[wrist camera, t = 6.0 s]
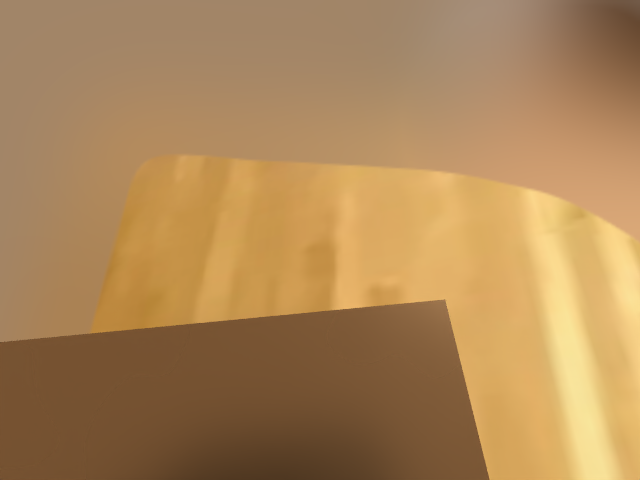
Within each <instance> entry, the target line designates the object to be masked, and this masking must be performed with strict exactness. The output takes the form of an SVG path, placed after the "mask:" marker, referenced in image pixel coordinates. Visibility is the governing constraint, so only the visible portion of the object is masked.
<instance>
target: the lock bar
mask: <svg viewBox="0 0 640 480" xmlns="http://www.w3.org/2000/svg"><path fill="white" fill-rule="evenodd" d="M0 480H489V476H488V472H487V468H486V464H485V460H484V456H483V452H482V448H481V443H480V439H479V435H478V431H477V427H476V423H475V419H474V415H473V411H472V407H471V403H470V399H469V395H468V391H467V387H466V383H465V379H464V375H463V371H462V367H461V363H460V358H459V354H458V350H457V346H456V342H455V338H454V334H453V330H452V326H451V322H450V318H449V314H448V310H447V306H446V302H445V300H437V301H426V302H416V303H405V304H395V305H385V306H374V307H364V308H353V309H343V310H332V311H322V312H312V313H301V314H291V315H280V316H270V317H259V318H249V319H239V320H228V321H218V322H207V323H197V324H186V325H176V326H166V327H155V328H145V329H134V330H124V331H113V332H103V333H93V334H83V335H72V336H61V337H52V338H40V339H30V340H20V341H9V342H0Z"/></svg>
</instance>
